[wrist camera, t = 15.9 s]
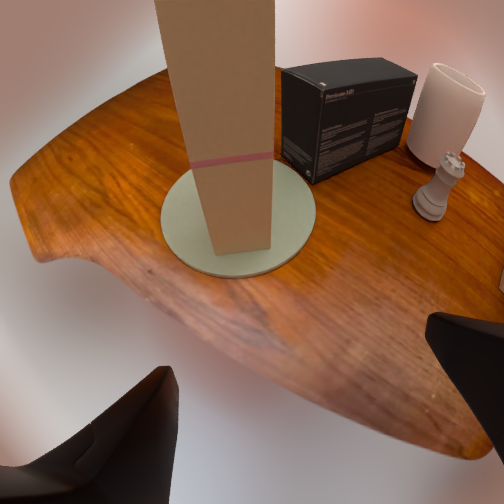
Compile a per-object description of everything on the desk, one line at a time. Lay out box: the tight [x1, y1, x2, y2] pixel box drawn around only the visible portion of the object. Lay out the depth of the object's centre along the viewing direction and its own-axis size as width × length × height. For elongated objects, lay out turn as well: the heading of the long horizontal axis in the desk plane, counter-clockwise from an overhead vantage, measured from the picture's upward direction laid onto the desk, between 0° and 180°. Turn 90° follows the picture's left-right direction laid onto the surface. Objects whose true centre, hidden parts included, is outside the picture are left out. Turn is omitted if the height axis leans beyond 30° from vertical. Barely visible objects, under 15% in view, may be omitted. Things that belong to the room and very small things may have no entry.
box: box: [281, 58, 418, 184], centre depth 28 cm, size 17×7×12 cm, turn 121°
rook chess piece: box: [413, 152, 465, 221], centre depth 25 cm, size 4×4×8 cm
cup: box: [406, 63, 486, 168], centre depth 27 cm, size 8×8×14 cm
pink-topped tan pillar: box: [154, 0, 275, 256], centre depth 17 cm, size 4×5×22 cm
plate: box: [161, 160, 316, 278], centre depth 28 cm, size 16×16×1 cm
